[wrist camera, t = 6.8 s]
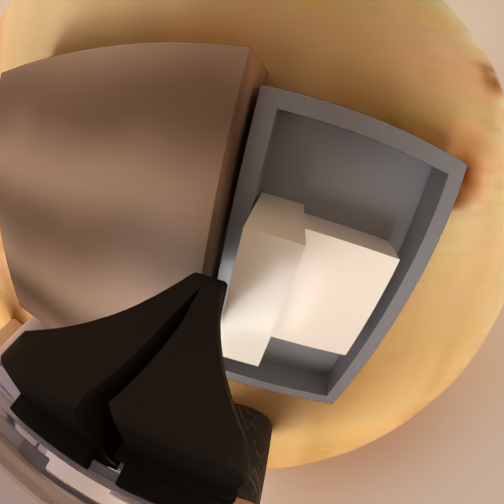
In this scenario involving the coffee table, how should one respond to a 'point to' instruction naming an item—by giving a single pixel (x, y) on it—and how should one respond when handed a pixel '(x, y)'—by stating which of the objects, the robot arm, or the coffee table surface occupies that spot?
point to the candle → (9, 330)
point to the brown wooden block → (120, 171)
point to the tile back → (335, 286)
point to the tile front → (262, 276)
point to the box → (340, 217)
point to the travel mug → (254, 452)
